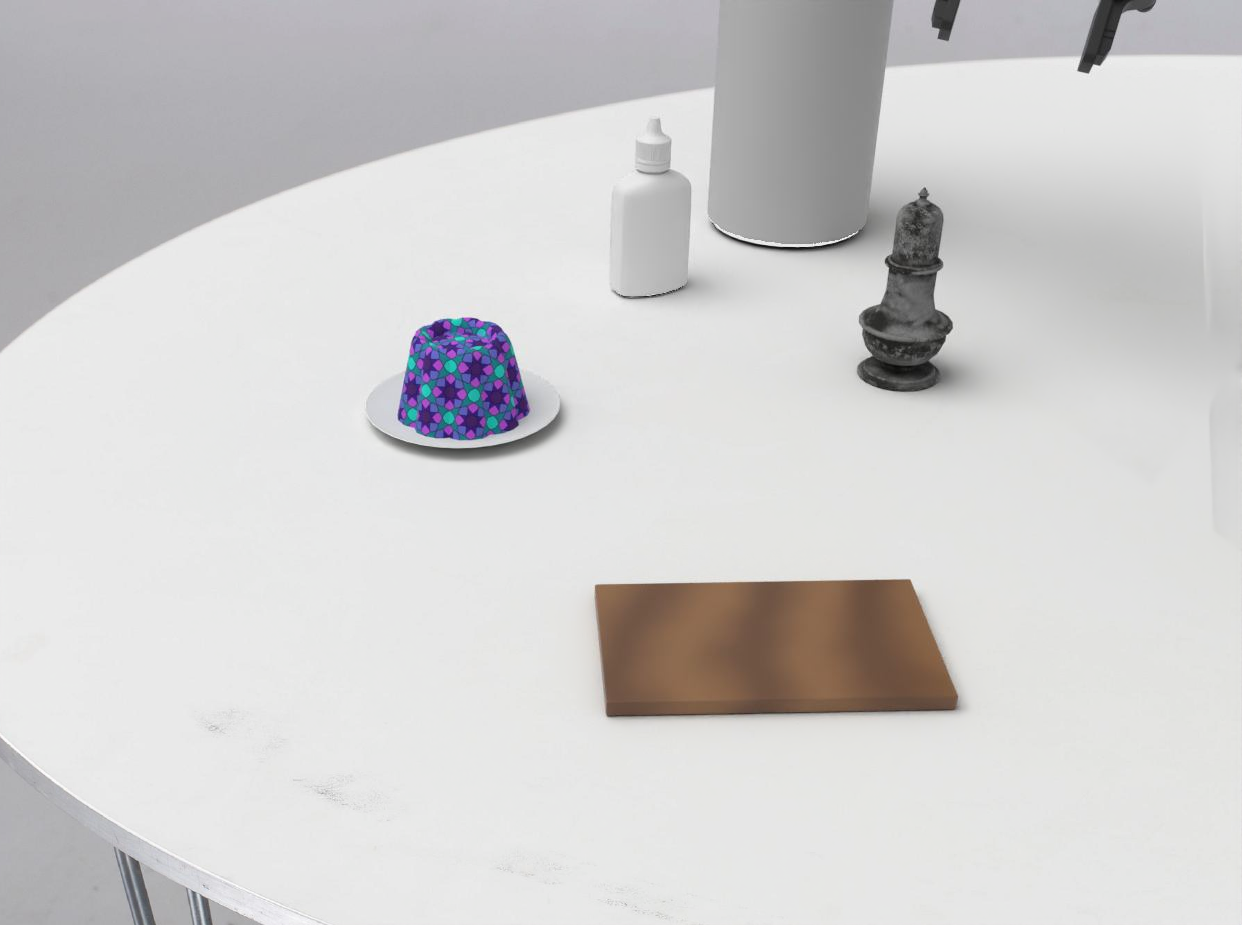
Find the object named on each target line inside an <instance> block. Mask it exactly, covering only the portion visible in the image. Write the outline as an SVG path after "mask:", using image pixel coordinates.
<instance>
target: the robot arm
mask: <svg viewBox="0 0 1242 925" xmlns="http://www.w3.org/2000/svg"><path fill="white" fill-rule="evenodd" d="M961 2H962V0H935V2H934V5H933V9H932V14H931V18H930V19H931V20H930V22H931V28H933V29H938V34H937V40H942V41H944V42H945V41H946V42H949V41H950V38H951V34H952V31H953V27H954V24H955V21H956V17H957V15H958V10H959V8H960V4H961ZM1156 3H1157V0H1097V4H1098V5H1097V7H1096V9H1095V11H1094V14H1093V17H1092V20H1091V23H1090V27H1089V29H1088V33H1087V36H1086V40H1085V43H1084V47H1083V49H1082V52H1081V56H1080V60H1079V63H1078V67H1077V69H1076V72H1078V73H1079V72H1080V73H1084V74H1090V72H1091V70H1092V68H1093V67H1094V66H1098V67H1101V66H1102V64H1103V63H1104V62H1105V60H1106V59H1107V57H1108V55H1109V54H1110V52H1111V50H1112V46H1113V43H1114V39H1115V37H1116V33H1117V30H1118V27H1119V23H1120V21H1121V16H1122V15H1123V14H1124V13H1126V12H1130V11H1137V12H1139V13H1144V14H1145V13H1148V12H1150V11H1152V9H1154V6H1155V5H1156Z"/></svg>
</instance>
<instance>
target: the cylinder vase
mask: <svg viewBox="0 0 1242 925" xmlns="http://www.w3.org/2000/svg"><path fill="white" fill-rule="evenodd" d="M894 1H895V0H719V9H718V10H719V11H718V24H717V25H718V26H717V42H716V44H717V45H716V59H715V60H716V62H715V74H714V75H715V77H714V95H713V108H712V109H713V111H712V112H713V113H712V128H711V129H712V130H711V145H710V160H709V161H710V163H709V176H708V177H709V178H708V193H707V194H708V195H707V216H708V215H709V216H708V218H709V217H710V219H711V220H712V221H713V222H714V223H715V224H717V225H718V226H719V227H720V228H721V229H723V230H725V231H727V232H730V233H733V234H735V235H740V236H742V237H744V238H748V239H754V240H761V241H765V242H775V243H781V244H813V243H814V244H816V243H820V242H821V243H822V242H829V241H835V240H840V239H842V238H845V237H848V236H849V235H852V234H853V233H856V232H857V231H859V230H860V229H861V230H862V229H863V228H864V227H865V225H866V223H867V220H868V214H869V206H870V200H871V199H870V198H871V190H872V182H873V175H874V174H873V172H874V166H875V158H876V150H877V149H876V148H877V140H878V134H879V133H878V132H879V125H880V124H879V123H880V118H881V116H880V115H881V108H882V99H883V92H884V84H885V83H884V82H885V75H886V68H887V67H886V66H887V59H888V50H889V43H890V35H891V34H890V33H891V26H892V17H893V8H894ZM710 219H709V220H710ZM864 224H865V225H864ZM863 226H864V227H863ZM862 227H863V228H862Z"/></svg>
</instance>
